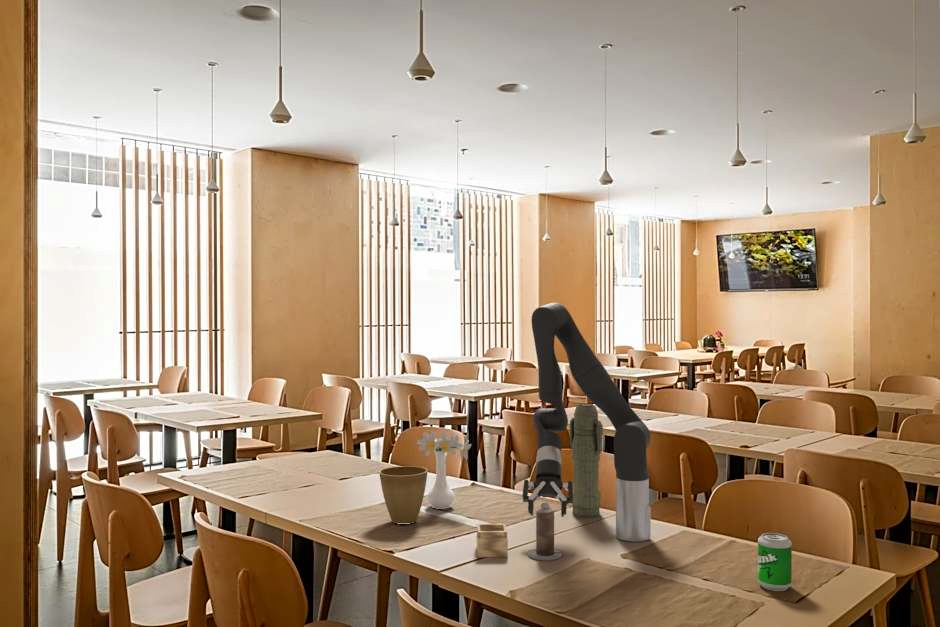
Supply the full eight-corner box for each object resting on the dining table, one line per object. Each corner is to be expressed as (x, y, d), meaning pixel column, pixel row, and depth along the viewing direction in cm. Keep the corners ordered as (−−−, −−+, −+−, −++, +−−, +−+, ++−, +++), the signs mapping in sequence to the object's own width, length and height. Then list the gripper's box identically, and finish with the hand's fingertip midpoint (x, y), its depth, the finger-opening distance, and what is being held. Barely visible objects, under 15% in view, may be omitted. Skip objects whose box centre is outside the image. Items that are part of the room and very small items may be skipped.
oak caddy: (505, 546, 219) (505, 523, 219) (507, 556, 210) (507, 532, 210) (476, 546, 219) (476, 523, 219) (477, 557, 210) (477, 532, 210)
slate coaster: (559, 550, 215) (559, 547, 215) (563, 560, 206) (563, 558, 206) (526, 550, 215) (526, 548, 215) (529, 561, 206) (529, 558, 206)
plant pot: (431, 515, 250) (430, 465, 250) (423, 529, 236) (423, 476, 235) (384, 514, 252) (384, 464, 252) (374, 528, 237) (374, 475, 237)
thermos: (595, 519, 246) (595, 407, 245) (563, 513, 253) (563, 404, 252) (609, 513, 253) (609, 404, 252) (577, 507, 260) (577, 401, 259)
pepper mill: (553, 550, 213) (552, 499, 213) (555, 555, 209) (555, 503, 208) (535, 550, 213) (535, 499, 213) (537, 556, 209) (537, 504, 208)
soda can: (783, 580, 191) (783, 531, 191) (797, 592, 184) (797, 541, 183) (752, 581, 191) (752, 532, 191) (765, 592, 183) (765, 541, 183)
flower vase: (466, 513, 253) (466, 436, 252) (411, 510, 256) (410, 434, 256) (474, 503, 265) (474, 429, 265) (421, 501, 269) (421, 428, 269)
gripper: (523, 457, 229) (520, 507, 218) (573, 458, 227) (572, 508, 216) (525, 471, 234) (522, 520, 223) (573, 473, 232) (573, 522, 221)
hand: (547, 514), depth 219 cm, fingers open, 8 cm apart
